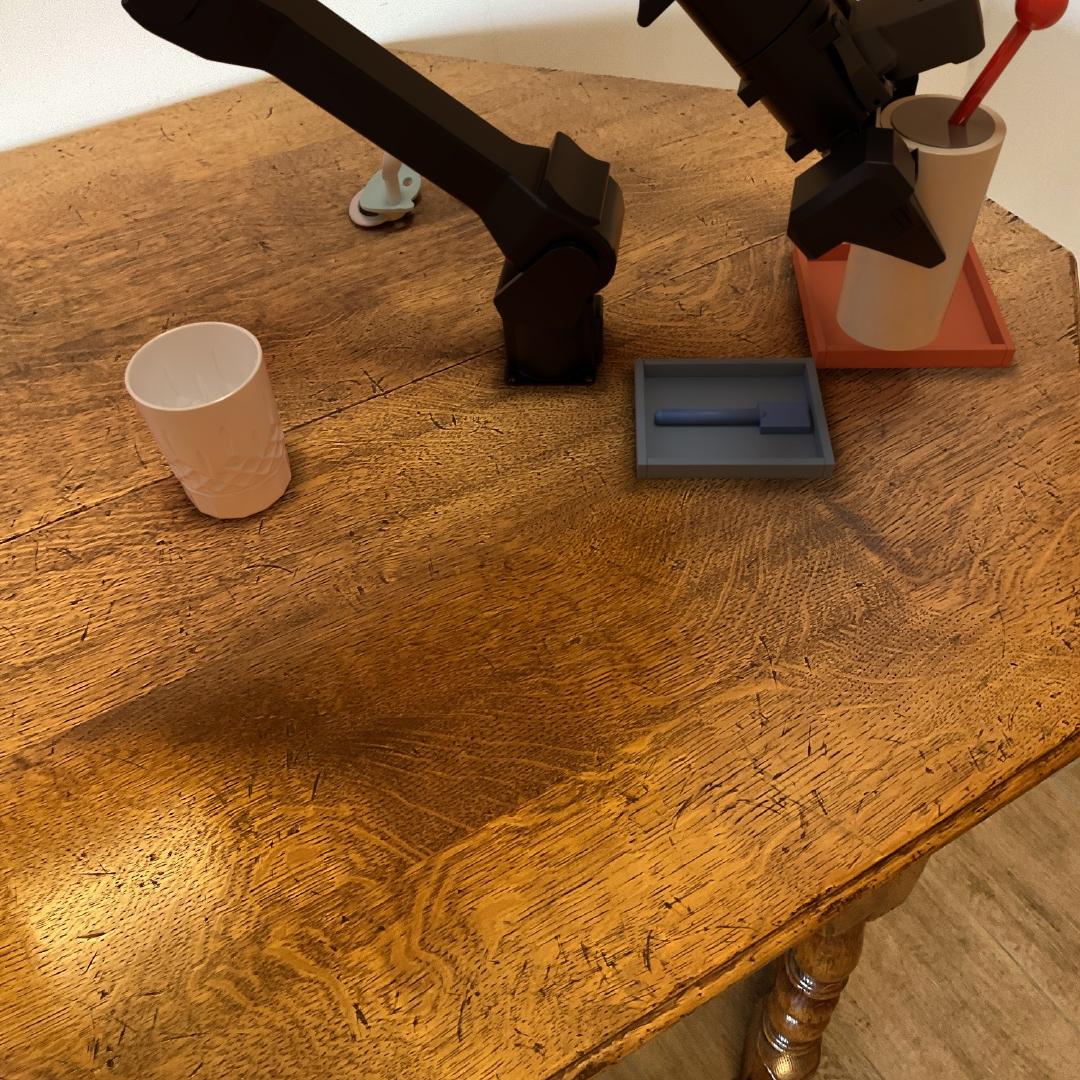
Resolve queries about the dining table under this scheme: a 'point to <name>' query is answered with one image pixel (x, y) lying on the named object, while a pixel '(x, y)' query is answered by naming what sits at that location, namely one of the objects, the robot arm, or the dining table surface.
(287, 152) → the dining table surface
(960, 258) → the beige spoon holder
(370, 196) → the pacifier
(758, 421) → the blue spatula
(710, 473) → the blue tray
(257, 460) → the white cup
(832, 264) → the terracotta tray
